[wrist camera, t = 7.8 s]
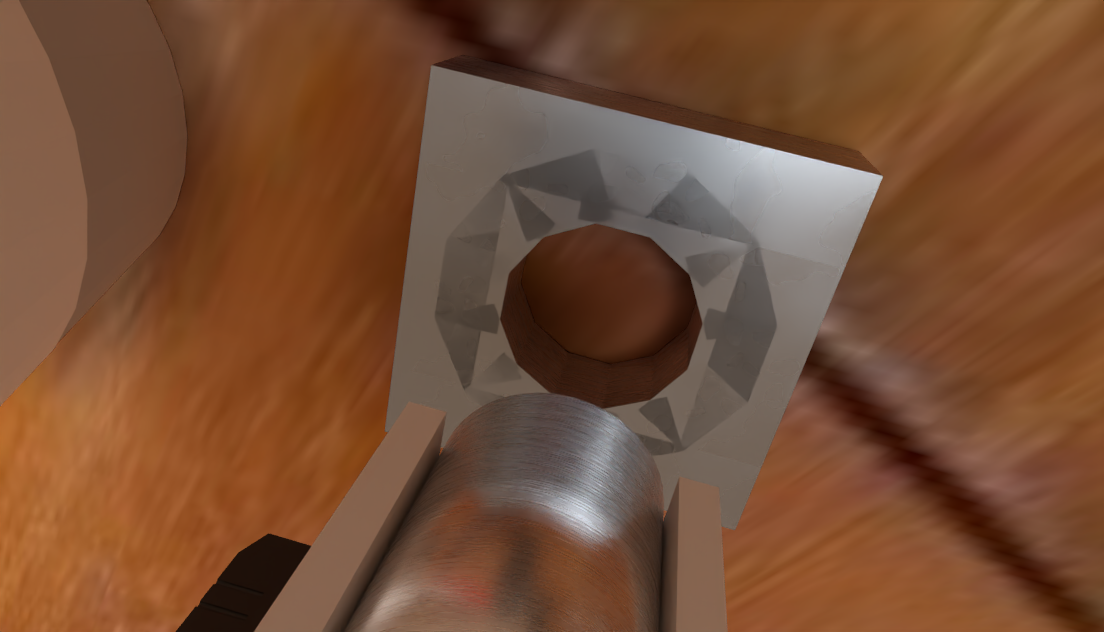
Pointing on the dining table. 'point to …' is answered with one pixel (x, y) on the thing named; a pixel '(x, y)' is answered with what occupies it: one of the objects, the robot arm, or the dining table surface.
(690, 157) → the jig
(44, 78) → the bowl
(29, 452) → the dining table surface
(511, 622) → the cylindrical peg
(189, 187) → the dining table surface
